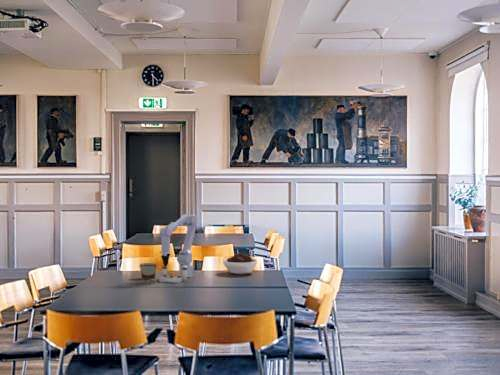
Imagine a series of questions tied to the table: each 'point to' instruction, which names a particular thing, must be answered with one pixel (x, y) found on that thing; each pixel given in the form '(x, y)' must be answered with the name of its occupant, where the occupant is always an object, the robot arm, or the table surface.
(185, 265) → the robot arm
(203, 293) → the table surface
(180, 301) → the table surface
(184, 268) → the cable post
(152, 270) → the food container
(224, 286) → the table surface
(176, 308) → the table surface
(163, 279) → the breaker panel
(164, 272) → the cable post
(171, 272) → the block
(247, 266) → the white bowl
